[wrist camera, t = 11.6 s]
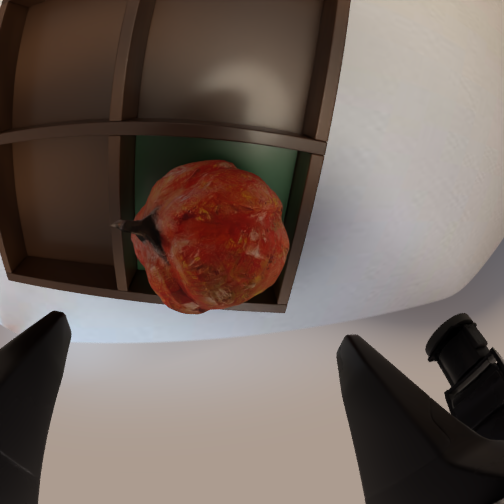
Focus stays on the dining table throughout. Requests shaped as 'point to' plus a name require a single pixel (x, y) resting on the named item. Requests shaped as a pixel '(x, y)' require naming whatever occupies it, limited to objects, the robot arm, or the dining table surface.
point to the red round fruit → (209, 236)
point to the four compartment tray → (154, 123)
